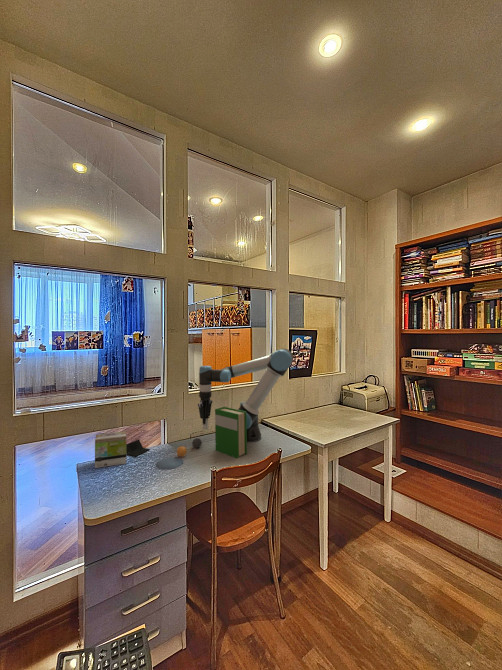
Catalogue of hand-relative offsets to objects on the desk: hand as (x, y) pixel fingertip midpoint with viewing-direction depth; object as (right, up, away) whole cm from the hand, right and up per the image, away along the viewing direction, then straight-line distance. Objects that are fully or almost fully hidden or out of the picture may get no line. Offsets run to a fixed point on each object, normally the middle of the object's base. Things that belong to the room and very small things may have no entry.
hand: (205, 428), depth 190 cm
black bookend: (-37, -10, -15) cm, 41 cm away
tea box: (-45, -10, -28) cm, 54 cm away
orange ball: (-10, -6, -21) cm, 24 cm away
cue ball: (-4, -6, -9) cm, 11 cm away
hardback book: (+17, -9, -16) cm, 25 cm away
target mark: (-14, -9, -30) cm, 34 cm away
